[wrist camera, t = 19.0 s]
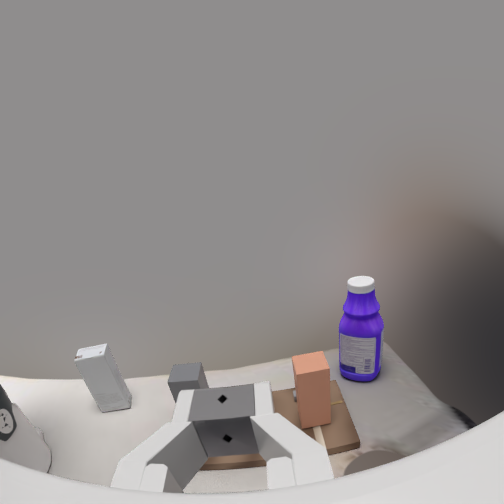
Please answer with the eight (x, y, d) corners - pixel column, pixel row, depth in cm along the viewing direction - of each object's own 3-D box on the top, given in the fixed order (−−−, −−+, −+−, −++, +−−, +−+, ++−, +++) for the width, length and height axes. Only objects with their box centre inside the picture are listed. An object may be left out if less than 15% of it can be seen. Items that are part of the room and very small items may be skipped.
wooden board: (166, 470, 33) (159, 459, 33) (180, 407, 47) (176, 395, 46) (359, 447, 33) (360, 435, 32) (335, 386, 47) (335, 374, 46)
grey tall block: (188, 433, 39) (167, 382, 36) (191, 415, 42) (173, 364, 40) (215, 431, 39) (197, 380, 36) (217, 413, 42) (201, 362, 40)
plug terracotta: (301, 428, 37) (296, 374, 34) (297, 410, 41) (291, 356, 38) (330, 423, 37) (329, 368, 34) (324, 404, 41) (322, 350, 38)
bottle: (384, 366, 49) (387, 274, 44) (376, 386, 44) (379, 289, 40) (346, 360, 53) (343, 272, 48) (335, 379, 48) (330, 286, 44)
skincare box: (131, 395, 51) (109, 341, 48) (130, 409, 47) (105, 354, 44) (103, 399, 50) (78, 347, 46) (100, 414, 45) (73, 359, 42)
